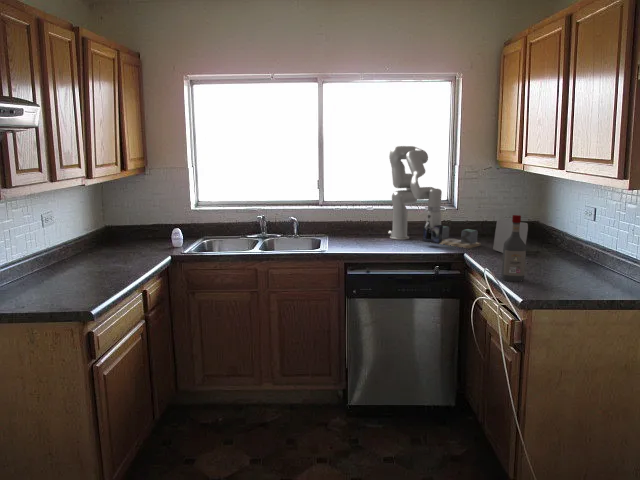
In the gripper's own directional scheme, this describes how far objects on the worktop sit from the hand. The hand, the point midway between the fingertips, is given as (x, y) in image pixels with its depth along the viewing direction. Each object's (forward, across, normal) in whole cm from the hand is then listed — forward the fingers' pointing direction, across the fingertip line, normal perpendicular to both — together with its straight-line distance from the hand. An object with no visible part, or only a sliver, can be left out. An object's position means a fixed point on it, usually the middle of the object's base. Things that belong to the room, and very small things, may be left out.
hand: (432, 237), depth 332 cm
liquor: (+3, -41, -72) cm, 83 cm away
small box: (+3, 0, 0) cm, 3 cm away
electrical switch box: (+4, +21, -41) cm, 46 cm away
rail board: (+5, +18, -5) cm, 19 cm away
